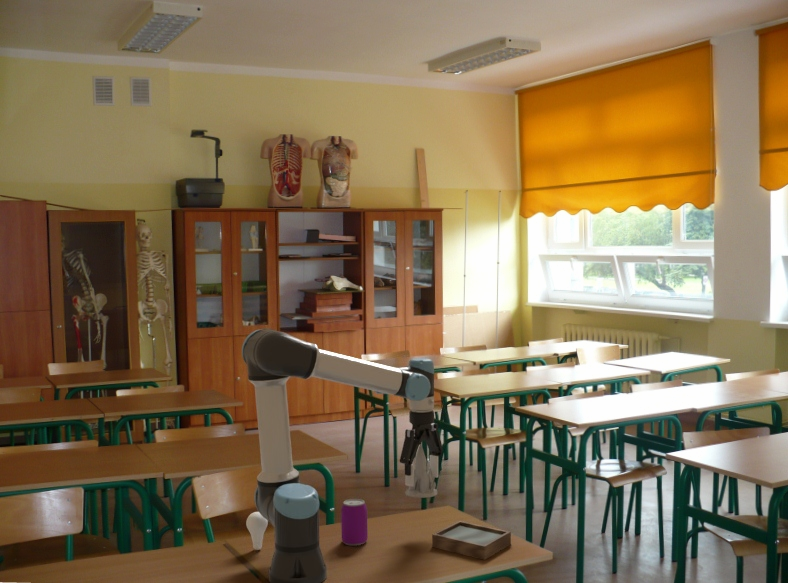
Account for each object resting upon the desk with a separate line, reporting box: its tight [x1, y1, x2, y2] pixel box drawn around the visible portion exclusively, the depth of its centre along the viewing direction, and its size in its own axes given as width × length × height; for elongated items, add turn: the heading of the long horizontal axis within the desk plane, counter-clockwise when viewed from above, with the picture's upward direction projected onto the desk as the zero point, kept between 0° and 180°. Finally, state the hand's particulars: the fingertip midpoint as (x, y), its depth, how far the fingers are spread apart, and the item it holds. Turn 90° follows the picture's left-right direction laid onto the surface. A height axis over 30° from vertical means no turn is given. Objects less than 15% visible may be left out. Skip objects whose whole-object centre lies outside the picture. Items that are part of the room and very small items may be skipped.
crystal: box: [404, 443, 438, 499], centre depth 238 cm, size 10×13×15 cm
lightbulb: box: [245, 511, 269, 551], centre depth 228 cm, size 6×6×11 cm
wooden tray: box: [431, 520, 512, 561], centre depth 229 cm, size 18×15×4 cm
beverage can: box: [340, 498, 369, 547], centre depth 233 cm, size 8×8×12 cm
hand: (422, 481), depth 238 cm, fingers closed on crystal, 12 cm apart
